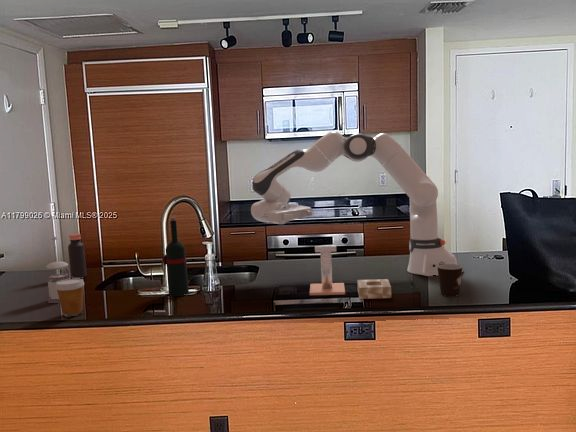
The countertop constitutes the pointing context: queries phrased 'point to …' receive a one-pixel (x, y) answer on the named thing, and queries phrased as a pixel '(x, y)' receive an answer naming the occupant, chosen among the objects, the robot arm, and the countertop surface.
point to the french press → (56, 275)
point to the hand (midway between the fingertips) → (302, 215)
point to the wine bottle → (176, 264)
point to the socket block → (374, 288)
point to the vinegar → (77, 256)
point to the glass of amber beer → (70, 295)
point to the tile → (318, 290)
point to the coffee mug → (450, 279)
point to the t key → (326, 264)
